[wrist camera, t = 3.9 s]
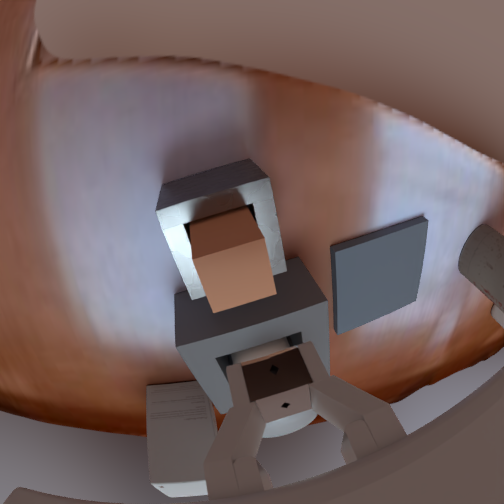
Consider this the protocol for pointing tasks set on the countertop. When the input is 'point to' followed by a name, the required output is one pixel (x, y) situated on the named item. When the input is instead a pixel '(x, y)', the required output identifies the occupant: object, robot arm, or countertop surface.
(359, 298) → the mat
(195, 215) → the frame
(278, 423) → the cylinder
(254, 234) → the plunger
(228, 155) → the countertop surface
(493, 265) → the thermos bottle
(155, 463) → the supplement box
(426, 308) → the countertop surface
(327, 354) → the housing
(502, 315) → the milk bottle
